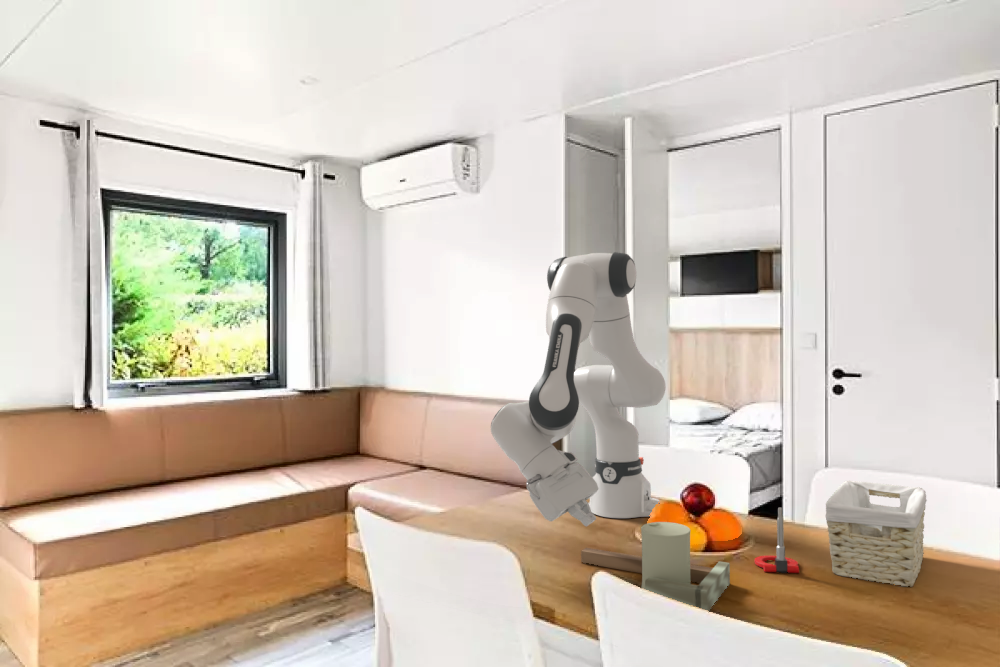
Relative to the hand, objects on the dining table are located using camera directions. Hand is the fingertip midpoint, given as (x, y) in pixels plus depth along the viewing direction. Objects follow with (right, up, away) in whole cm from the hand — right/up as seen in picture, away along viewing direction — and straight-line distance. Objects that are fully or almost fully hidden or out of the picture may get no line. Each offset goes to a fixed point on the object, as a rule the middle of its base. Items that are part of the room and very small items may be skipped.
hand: (591, 522), depth 145 cm
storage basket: (+59, -9, +1) cm, 59 cm away
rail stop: (+8, -10, -7) cm, 15 cm away
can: (+13, -10, -10) cm, 19 cm away
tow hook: (+38, -10, +2) cm, 40 cm away
